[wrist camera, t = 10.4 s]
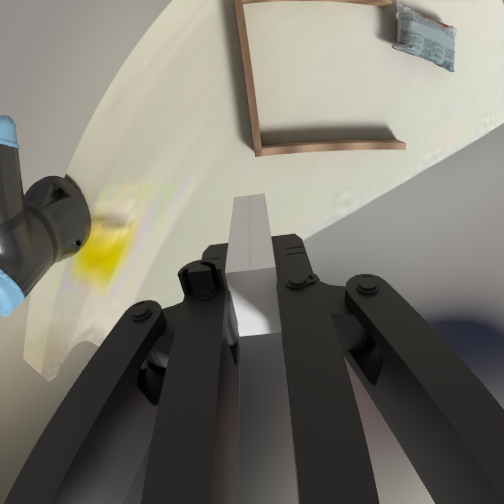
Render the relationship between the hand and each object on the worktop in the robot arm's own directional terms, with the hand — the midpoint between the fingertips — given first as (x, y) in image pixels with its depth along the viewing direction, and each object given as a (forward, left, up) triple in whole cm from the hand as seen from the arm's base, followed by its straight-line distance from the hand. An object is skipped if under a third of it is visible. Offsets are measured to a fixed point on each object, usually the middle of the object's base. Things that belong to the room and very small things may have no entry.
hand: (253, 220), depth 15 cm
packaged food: (+31, +17, -30) cm, 46 cm away
